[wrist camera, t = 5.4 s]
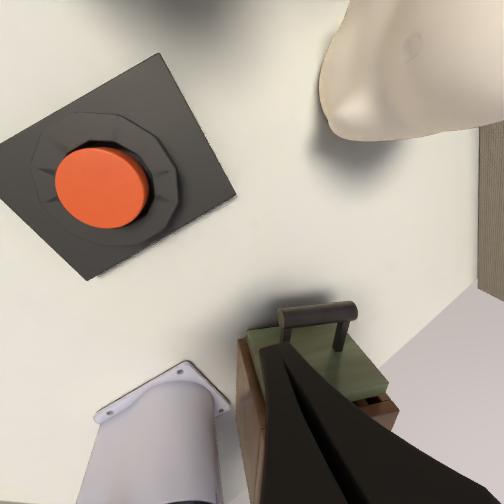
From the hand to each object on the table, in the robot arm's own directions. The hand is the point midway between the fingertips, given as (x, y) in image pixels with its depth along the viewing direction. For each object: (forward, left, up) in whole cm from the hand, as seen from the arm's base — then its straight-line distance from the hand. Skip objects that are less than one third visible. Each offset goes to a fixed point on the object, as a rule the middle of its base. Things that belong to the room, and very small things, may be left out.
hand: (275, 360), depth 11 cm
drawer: (0, -10, -9) cm, 13 cm away
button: (-3, +9, -7) cm, 12 cm away
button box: (-3, +9, -9) cm, 13 cm away
